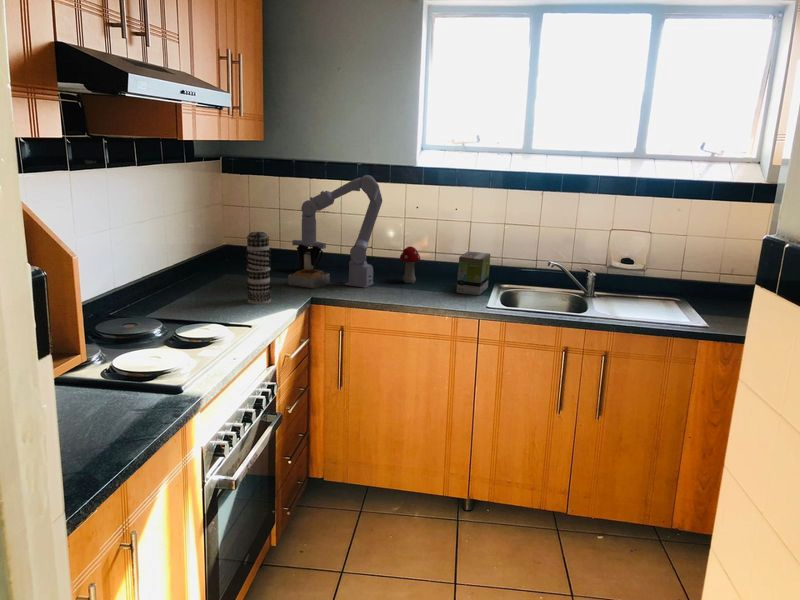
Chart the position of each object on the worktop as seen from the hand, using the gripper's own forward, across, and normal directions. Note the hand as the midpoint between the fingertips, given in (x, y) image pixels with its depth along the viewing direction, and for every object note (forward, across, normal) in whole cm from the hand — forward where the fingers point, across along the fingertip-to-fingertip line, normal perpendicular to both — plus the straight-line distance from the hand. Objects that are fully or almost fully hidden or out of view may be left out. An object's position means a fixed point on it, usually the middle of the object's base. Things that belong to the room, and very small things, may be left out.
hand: (309, 264), depth 266 cm
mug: (+8, +13, -22) cm, 27 cm away
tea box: (+8, -61, -26) cm, 67 cm away
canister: (+2, 0, 0) cm, 2 cm away
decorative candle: (+8, +1, +32) cm, 33 cm away
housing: (+8, 0, 0) cm, 8 cm away
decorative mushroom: (+8, -33, -26) cm, 43 cm away
